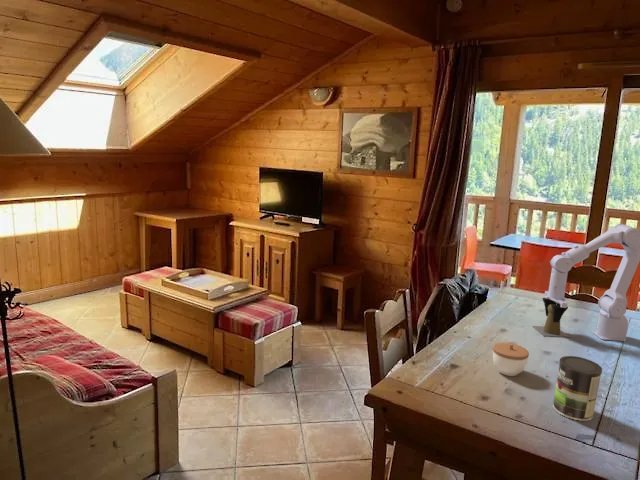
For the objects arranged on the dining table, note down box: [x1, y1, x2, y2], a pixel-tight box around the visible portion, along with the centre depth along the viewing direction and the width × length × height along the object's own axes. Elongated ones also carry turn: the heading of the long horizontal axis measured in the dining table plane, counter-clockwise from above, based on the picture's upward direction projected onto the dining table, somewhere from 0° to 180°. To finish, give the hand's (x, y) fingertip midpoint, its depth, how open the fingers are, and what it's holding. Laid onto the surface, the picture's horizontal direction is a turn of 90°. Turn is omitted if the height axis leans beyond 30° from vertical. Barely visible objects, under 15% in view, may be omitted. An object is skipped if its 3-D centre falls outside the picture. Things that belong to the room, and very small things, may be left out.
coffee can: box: [552, 355, 603, 422], centre depth 131 cm, size 10×10×14 cm
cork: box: [543, 304, 561, 335], centre depth 188 cm, size 6×6×11 cm
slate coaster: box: [532, 325, 570, 338], centre depth 190 cm, size 10×10×1 cm
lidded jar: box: [492, 342, 530, 377], centre depth 153 cm, size 11×11×9 cm
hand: (552, 319), depth 188 cm, fingers open, 6 cm apart
